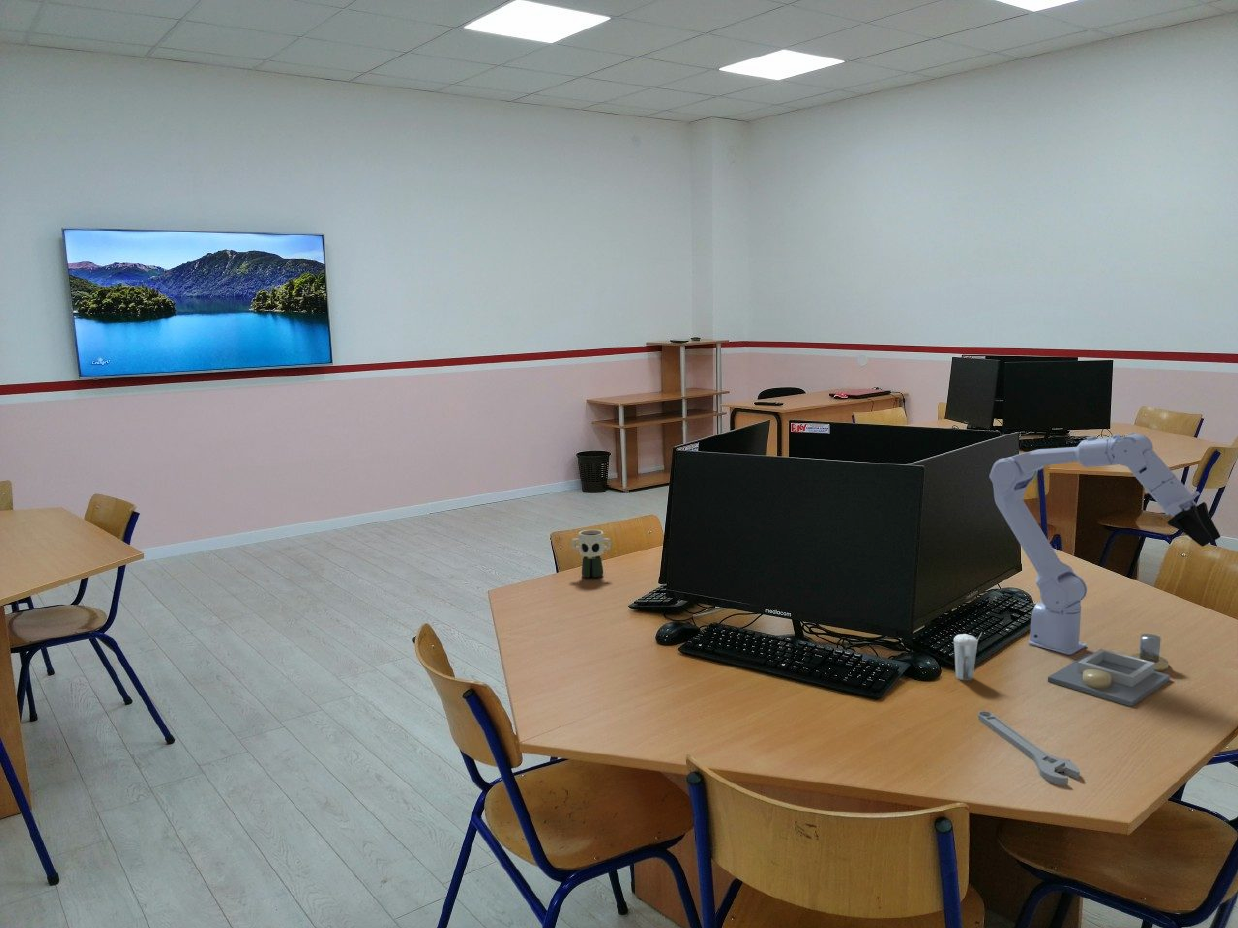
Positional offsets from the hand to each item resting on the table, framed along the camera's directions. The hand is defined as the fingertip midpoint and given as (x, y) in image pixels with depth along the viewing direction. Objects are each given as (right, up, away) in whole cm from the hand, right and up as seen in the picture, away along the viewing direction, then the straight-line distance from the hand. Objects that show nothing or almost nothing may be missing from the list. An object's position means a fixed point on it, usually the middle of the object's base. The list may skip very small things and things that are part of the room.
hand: (1211, 541), depth 179 cm
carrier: (-16, -29, +8) cm, 34 cm away
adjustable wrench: (-44, -35, -18) cm, 59 cm away
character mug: (-122, -18, +88) cm, 152 cm away
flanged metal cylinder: (-4, -27, +15) cm, 31 cm away
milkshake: (-43, -29, +11) cm, 53 cm away
